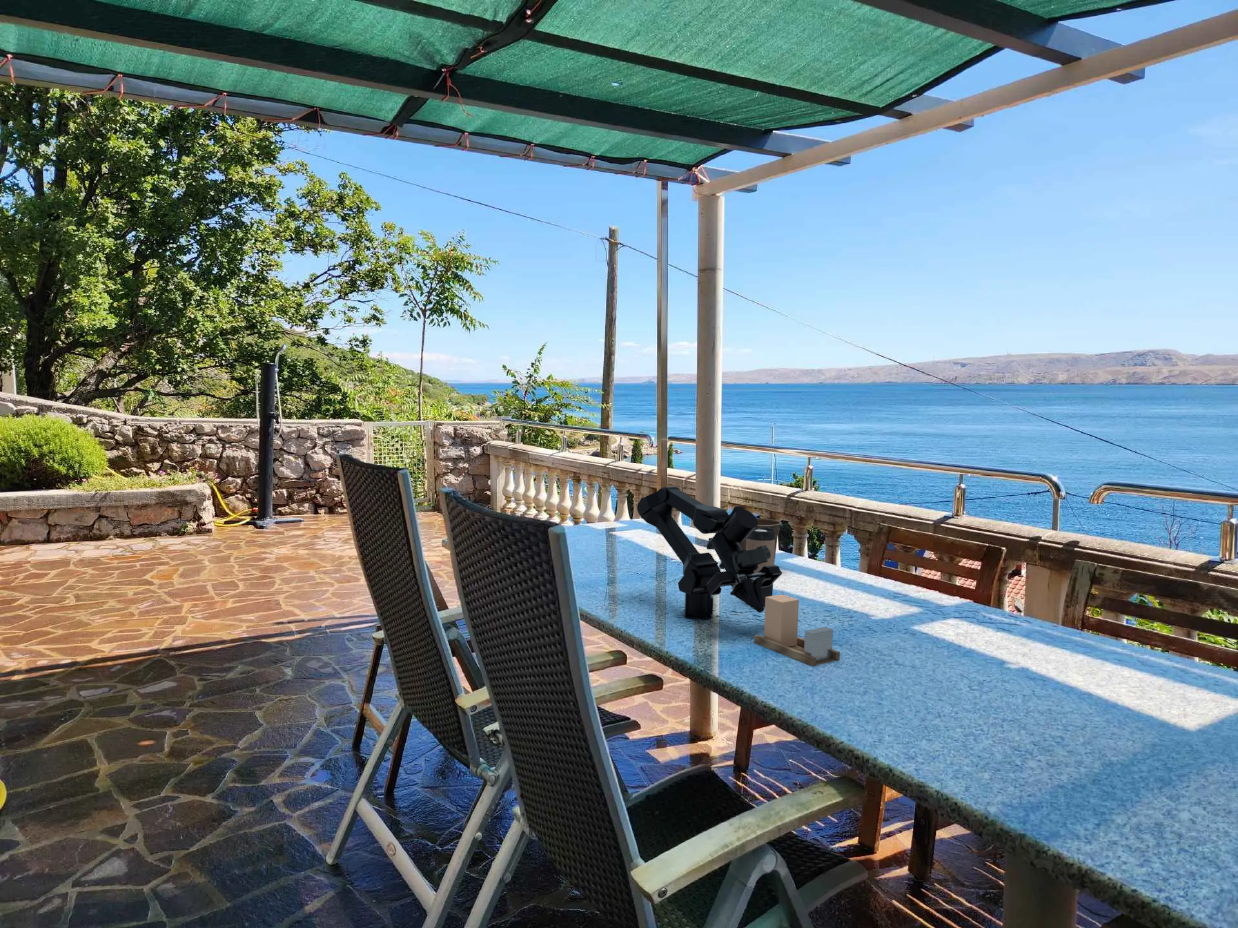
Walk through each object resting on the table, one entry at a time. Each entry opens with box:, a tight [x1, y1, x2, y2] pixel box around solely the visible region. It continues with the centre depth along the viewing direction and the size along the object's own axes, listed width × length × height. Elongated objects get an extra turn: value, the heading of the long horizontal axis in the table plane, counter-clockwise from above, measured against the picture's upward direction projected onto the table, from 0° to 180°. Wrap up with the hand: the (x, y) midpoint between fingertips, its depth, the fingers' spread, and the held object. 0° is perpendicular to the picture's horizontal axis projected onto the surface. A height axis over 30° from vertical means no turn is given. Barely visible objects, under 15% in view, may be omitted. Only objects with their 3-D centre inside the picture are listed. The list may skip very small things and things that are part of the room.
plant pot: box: [738, 517, 782, 563], centre depth 241 cm, size 16×16×16 cm
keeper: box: [763, 594, 800, 647], centre depth 164 cm, size 5×5×10 cm
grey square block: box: [804, 626, 834, 662], centre depth 155 cm, size 2×6×7 cm, turn 122°
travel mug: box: [746, 527, 776, 608], centre depth 201 cm, size 8×8×20 cm
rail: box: [753, 634, 841, 667], centre depth 160 cm, size 17×8×2 cm, turn 32°
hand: (761, 611), depth 169 cm, fingers closed
